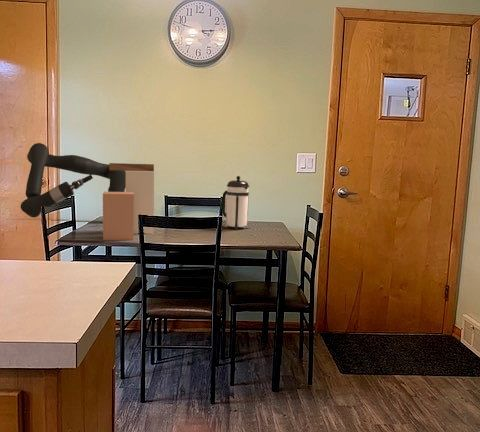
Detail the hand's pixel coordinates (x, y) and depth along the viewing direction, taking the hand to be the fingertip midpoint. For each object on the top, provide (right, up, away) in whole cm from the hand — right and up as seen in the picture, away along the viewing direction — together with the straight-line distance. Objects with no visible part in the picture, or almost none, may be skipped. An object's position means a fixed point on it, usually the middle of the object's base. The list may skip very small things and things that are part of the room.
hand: (91, 176), depth 224 cm
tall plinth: (+22, -28, +10) cm, 37 cm away
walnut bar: (+19, +4, +4) cm, 20 cm away
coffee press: (+72, -27, +33) cm, 83 cm away
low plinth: (+16, -30, -7) cm, 35 cm away
